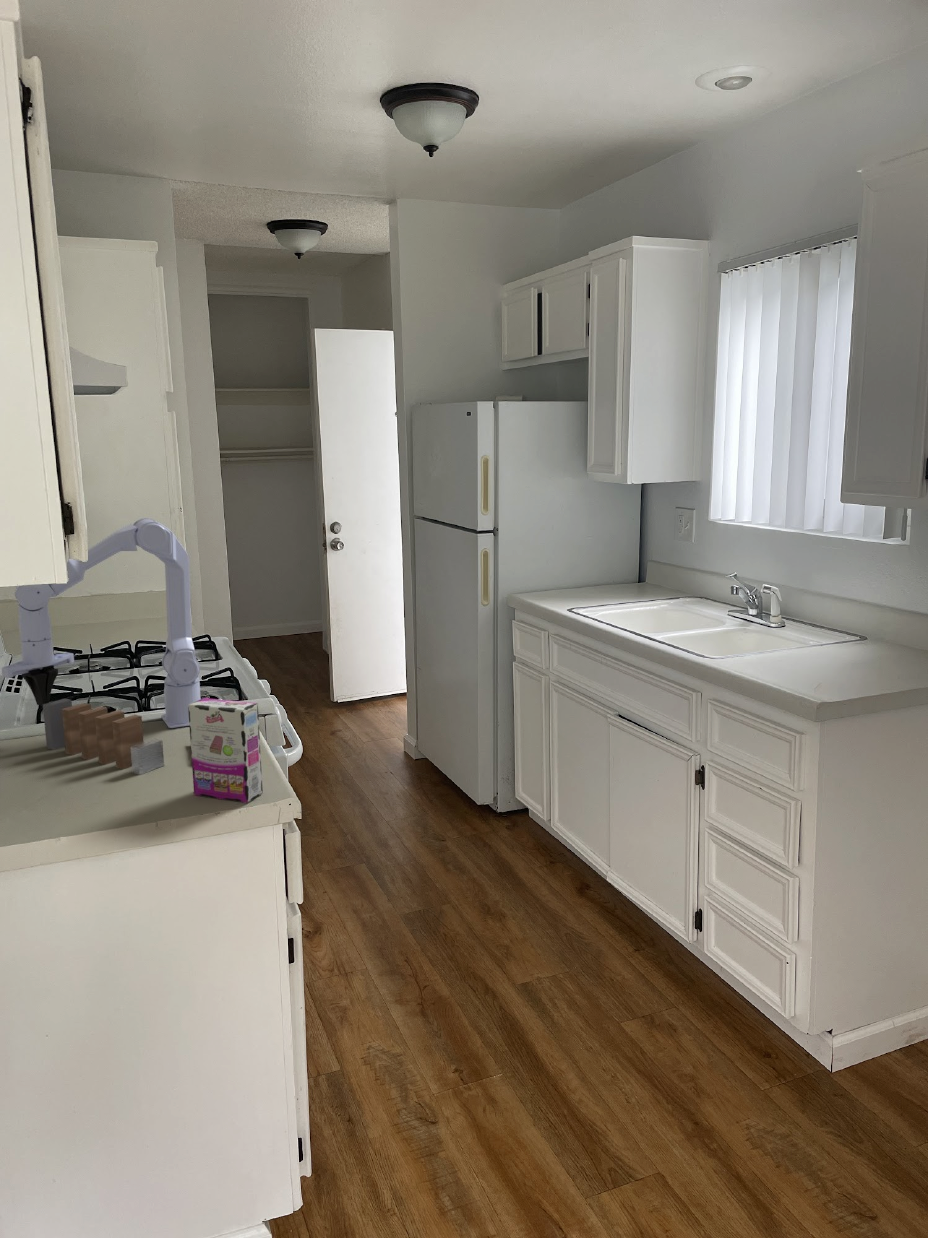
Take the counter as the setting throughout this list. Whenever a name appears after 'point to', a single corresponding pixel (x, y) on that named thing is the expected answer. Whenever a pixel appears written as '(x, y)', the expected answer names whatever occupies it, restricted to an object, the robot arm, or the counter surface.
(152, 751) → the block
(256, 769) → the candy bar box
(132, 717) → the domino
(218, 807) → the counter surface
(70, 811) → the counter surface
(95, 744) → the domino
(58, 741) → the domino
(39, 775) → the counter surface
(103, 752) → the domino
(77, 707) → the domino
